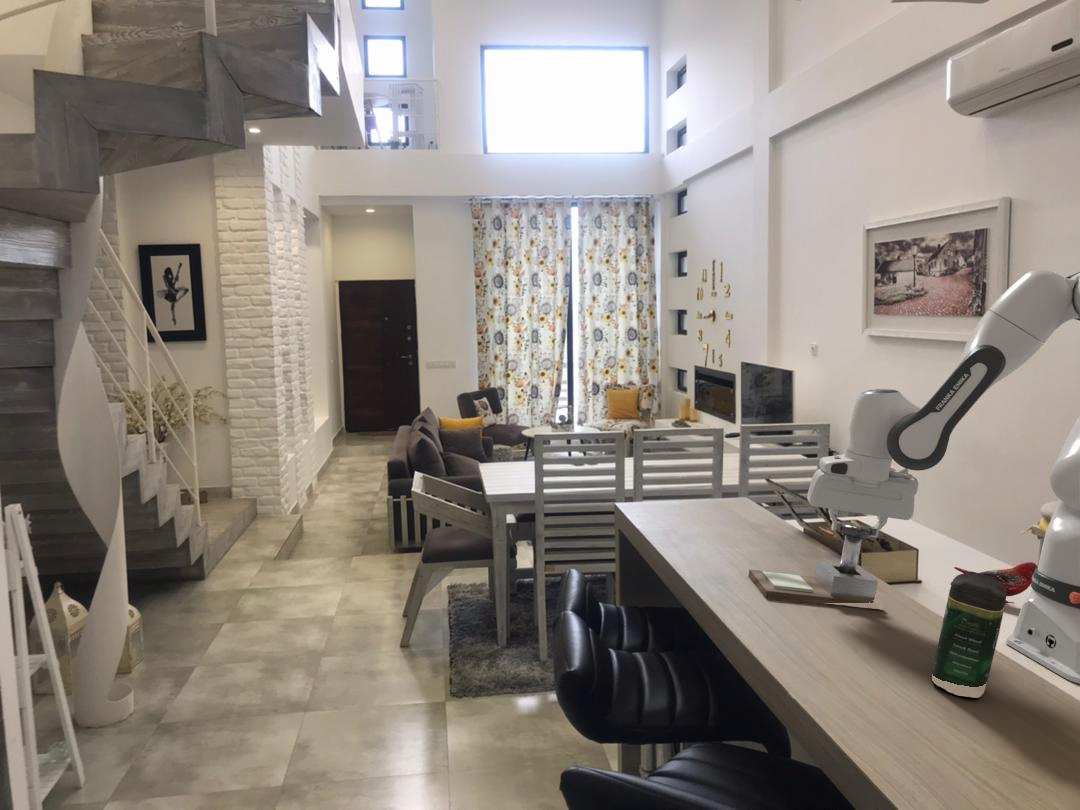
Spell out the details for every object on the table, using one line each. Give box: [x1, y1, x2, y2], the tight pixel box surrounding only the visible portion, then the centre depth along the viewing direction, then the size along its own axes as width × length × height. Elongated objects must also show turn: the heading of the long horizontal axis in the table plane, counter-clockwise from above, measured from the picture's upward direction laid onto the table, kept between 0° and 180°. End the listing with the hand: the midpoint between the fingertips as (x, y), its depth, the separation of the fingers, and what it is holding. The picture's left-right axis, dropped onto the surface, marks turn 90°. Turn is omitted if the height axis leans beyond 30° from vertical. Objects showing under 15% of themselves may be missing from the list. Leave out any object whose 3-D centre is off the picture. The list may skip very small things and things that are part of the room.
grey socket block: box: [813, 560, 879, 600], centre depth 165 cm, size 9×9×4 cm
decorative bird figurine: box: [953, 561, 1038, 605], centre depth 174 cm, size 3×18×10 cm, turn 81°
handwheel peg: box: [839, 519, 871, 575], centre depth 164 cm, size 6×6×11 cm
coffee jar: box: [931, 571, 1007, 687], centre depth 128 cm, size 10×8×19 cm
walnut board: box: [748, 569, 874, 604], centre depth 165 cm, size 12×24×2 cm, turn 92°
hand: (854, 533), depth 164 cm, fingers closed on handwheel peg, 6 cm apart
